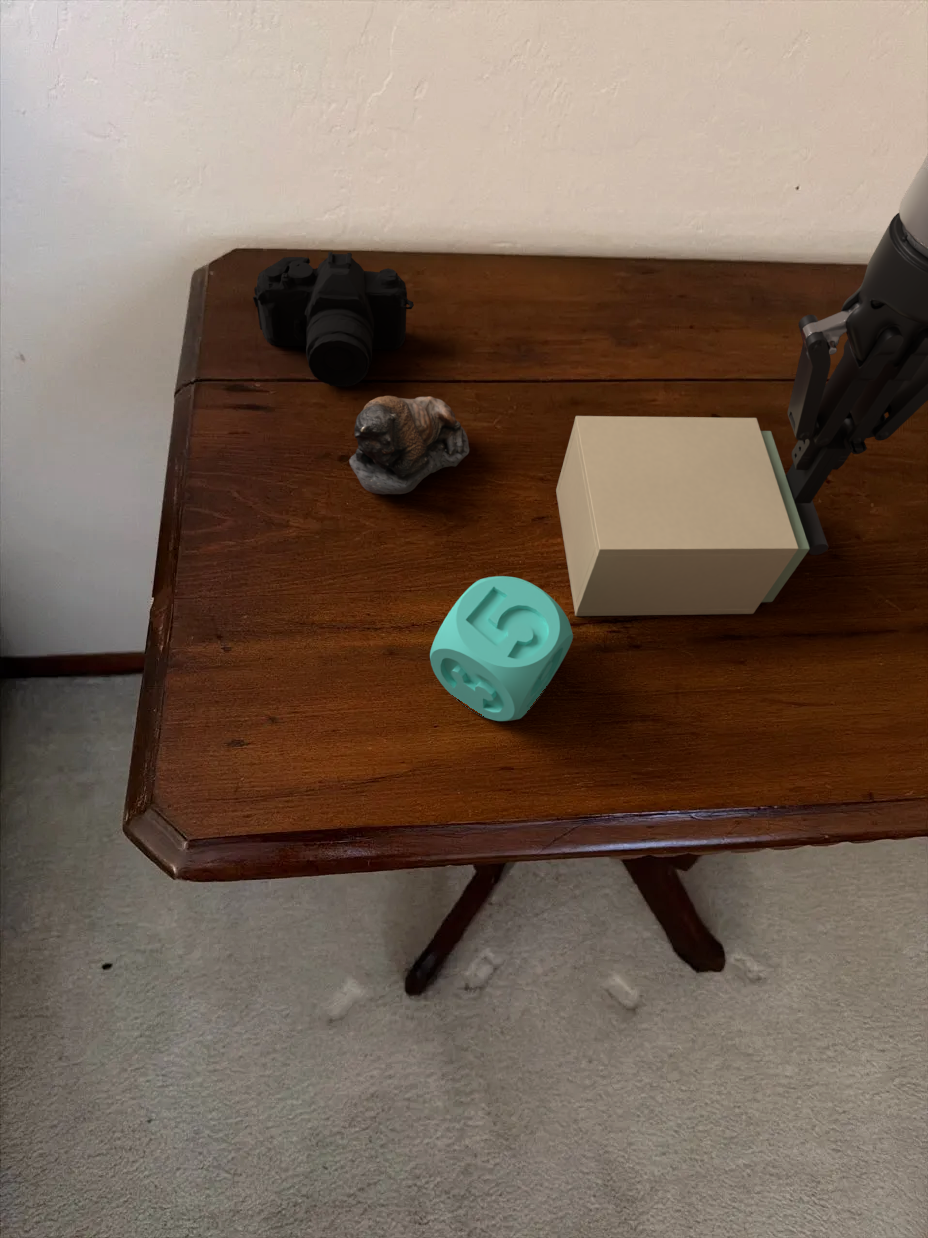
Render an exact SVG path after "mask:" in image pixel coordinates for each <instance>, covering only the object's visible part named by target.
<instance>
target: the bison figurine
mask: <svg viewBox="0 0 928 1238" xmlns="http://www.w3.org/2000/svg"><path fill="white" fill-rule="evenodd" d="M456 418H457V417H456V414H455V412H454V411H453V410H452V408H451V407H450V406H449V405H448V404H447V403H446V402H445V401H443V400H442V399H440V398H435V397H433V396H418V397H415V398H402V397H397V396H393V395H384V396H378V397H375V398H373V399H372V400H370V401H368V402H367V403H366V404H365V405H364V407H363V409H362V410H361V411H360V413H359V414H357V416H356V419H355V424H354V438H355V439H356V441H357V448H356V450H355V453H354V454H353V455H351V456H350V458H349V460H348V461H349V466H350V468H351V469H352V471H353V473H354V474H355V475H356V477H357V479H358V481H359V484H360V485H361V486H362V488H364V490H366V491H368V492H370V493H371V494H372V493H373V494H376V495H403V494H407V493H410V492H412V491H414V489H416V487H417V486H418V485H419V484H420V482H422V480H424V479H425V478H426V477H428V476H429V475H430V474H433V473H435V472H437V471H440V469H445V468H448V467H454V468H456V467H457V466H458V465H459V464H460V462H461V461H462V460H463V459H464V458H466V457H467V456H468V455H469V453H470V446H469V439H468V435H467V433H466V431H465V429H464V428H463V426H462V425H461V422H460V421H458V420H457V419H456Z"/></svg>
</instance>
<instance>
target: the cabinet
mask: <svg viewBox="0 0 928 1238" xmlns="http://www.w3.org/2000/svg"><path fill="white" fill-rule="evenodd" d="M573 421H574V422H573V426H572V429H571V433H570V436H569V440H568V444H567V447H566V451H565V456H564V459H563V463H562V467H561V470H560V471H561V472H560V474H559V478H558V481H557V484H556V485H557V486H556V489H555V492H556V500H557V506H558V513H559V518H560V526H561V533H562V539H563V545H564V552H565V558H566V565H567V571H568V578H569V585H570V590H571V596H572V597H571V598H572V604H573V610H574V616H575V617H602V616H603V617H604V616H605V617H607V616H609V617H610V616H611V617H612V616H613V617H614V616H616V617H617V616H681V615H682V616H684V615H685V616H686V615H692V616H693V615H694V616H695V615H696V616H697V615H753V614H754V613H755V612H756V610H757V609H758V608H759V606H760V605H761V603H763V602H762V600H763V599H764V597H765V596H766V594H767V593H768V592H769V590H770V589H771V587H772V586H773V584H774V583H775V581H776V580H777V579H778V577H779V576H780V574H781V573H782V571H783V570H784V568H785V567H786V566H787V564H788V563H789V561H790V560H791V558H792V557H793V555H794V554H795V553H796V551H797V550H798V545H797V542H796V539H795V536H794V533H793V530H792V527H791V524H790V521H789V518H788V514H787V511H786V508H785V505H784V502H783V499H782V496H781V493H780V490H779V486H778V483H777V480H776V477H775V474H774V471H773V468H772V465H771V462H770V459H769V455H768V452H767V449H766V446H765V443H764V440H763V437H762V434H761V431H762V430H761V428H760V424H759V421H758V418H757V417H710V416H709V417H706V416H705V417H701V416H699V417H698V416H695V417H694V416H689V417H688V416H624V415H623V416H618V415H616V416H613V415H612V416H611V415H609V416H608V415H607V416H606V415H575V418H574V420H573Z"/></svg>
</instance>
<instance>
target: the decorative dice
mask: <svg viewBox="0 0 928 1238" xmlns="http://www.w3.org/2000/svg"><path fill="white" fill-rule="evenodd" d="M573 640H574V634H573V630H572V627H571V624H570V621H569V618H568V616H567V614H566V613H565V611H564V609H563V608H562V607H561V606H560V605H559V604H558V602H557V601H555V599H554V598H552V597H551V596H550V595H549V594H548V593H547V592H546V591H544V590H543V589H541V588H540V587H538V586H537V585H535V584H533V583H532V582H529V581H528V580H526V579H522V578H519V577H514V576H507V575H506V576H505V575H497V576H488V577H483V578H480V579H478V580H476V581H475V582H474V583H472V585H470V586H469V587H468V588H467V589H466V590H465V591H464V592H463V594H462V595H461V596H460V597H459V598H458V599H457V600H456V602H455V603H454V604H453V606H452V608H451V609H450V610H449V612H448V613H447V615H446V616H445V618H444V620H443V622H442V623H441V625H440V626H439V628H438V631H437V633H436V635H435V637H434V640H433V642H432V645H431V647H430V651H429V660H430V666H431V668H432V671H433V673H434V675H435V677H436V678H437V680H438V681H439V683H440V684H441V685H442V687H443V688H444V690H446V692H448V693H449V694H450V695H451V696H452V695H453V696H454V697H456V698H457V699H459V700H460V701H462V702H463V703H465V704H467V705H468V706H469V707H470V708H472V709H474V710H475V711H477V712H478V713H480V714H482V716H481V717H483V716H484V717H483V718H486V719H488V720H492V721H497V722H508V721H509V722H510V721H515V720H520V719H522V718H523V717H525V715H526V714H527V713H528V712H529V711H530V709H531V708H532V707H533V706H534V705H533V703H534V702H535V701H536V699H537V698H538V697H539V696H540V697H541V695H542V694H543V692H544V691H545V690H544V689H546V688H547V687H548V685H549V684H550V683H551V681H552V679H553V677H554V676H555V674H556V673H557V671H558V670H559V668H560V666H561V664H562V663H563V661H564V659H565V657H566V655H567V654H568V651H569V649H570V647H571V644H572V642H573ZM546 686H547V687H546ZM543 690H544V691H543ZM542 691H543V692H542ZM541 693H542V694H541ZM540 694H541V695H540ZM453 696H452V697H453ZM454 697H453V698H454ZM540 697H539V698H540ZM539 698H538V699H539ZM457 699H456V700H457ZM538 699H537V700H538ZM536 702H537V701H536ZM536 702H535V703H536ZM535 703H534V704H535ZM532 705H533V706H532ZM531 706H532V707H531ZM530 707H531V708H530ZM528 710H529V711H528ZM527 711H528V712H527Z"/></svg>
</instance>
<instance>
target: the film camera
mask: <svg viewBox="0 0 928 1238" xmlns="http://www.w3.org/2000/svg"><path fill="white" fill-rule="evenodd" d="M310 263H311V260H310V257H307V256H287V257H286V256H285V257H282V258H281V259H279V260H278V261H277V262H275V263H273V264H272V265H270V266H268V267H266V268H265V269H263V270H261V271H260V272H259V273H258V276H257V279H256V286H255V287H254V289H253V292H254V296H253V297H252V300H253V303H254V305H255V307H256V309H257V318H258V325H259V329H260V330H261V332H262V336H263V337H264V339H265V340H266V342H267V343H268V344H269V345H273V346H283V347H305V348H306V349H305V356H306V359H307V362H308V368H309V370H310V372H311V374H312V375H313V377H314V378H316V379H317V380H318V381H320V382H321V383H324V384H325V385H329V386H331V387H339V388H344V387H345V388H346V387H351V386H354V385H357V384H359V383H360V382H361V381H363V379H364V378H365V377H366V376H367V375H368V372H369V369H370V366H371V364H372V361H373V350H382V351H383V350H387V351H395V350H398V349H400V348H401V347H402V346H403V345H404V343H405V340H406V330H407V310H412V309H413V308H414V305H415V304H414V301H413V300H412V301H411V300H409V299H408V291H407V286H406V285H407V284H406V282H405V281H404V280H403V279H402V278H401V277H400V275H399V274H398V272H397V271H396V270H394V269H393V268H389V267H388V268H383V269H381V270H379V271H372V270H364V268H363V267H362V266H361V265H360V264H359V263H358V262H357V261H356V260H355V259H354V258H353V254H352V252H347V253H333V251H328V252H327V257H326V258H325V259H324V260H323V261H321V262H320V263H319V264H318V265H317V267H316V268H313V266H312V265H310ZM407 305H408V306H407Z"/></svg>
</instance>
